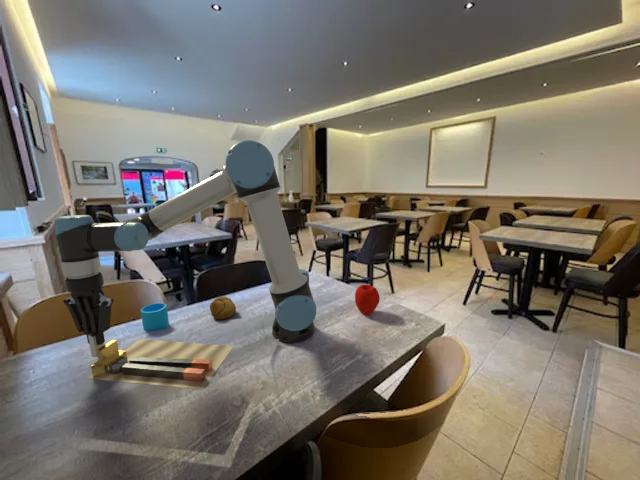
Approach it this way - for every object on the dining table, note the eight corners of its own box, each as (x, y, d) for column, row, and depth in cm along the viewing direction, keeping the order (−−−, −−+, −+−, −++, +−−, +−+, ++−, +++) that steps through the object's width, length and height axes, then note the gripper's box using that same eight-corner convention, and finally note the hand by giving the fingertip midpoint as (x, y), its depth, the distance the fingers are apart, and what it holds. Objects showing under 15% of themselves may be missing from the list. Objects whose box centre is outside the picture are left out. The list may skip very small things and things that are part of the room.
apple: (382, 311, 115) (383, 283, 113) (373, 320, 107) (374, 291, 104) (360, 305, 120) (361, 279, 118) (350, 314, 112) (351, 286, 110)
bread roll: (211, 309, 117) (209, 291, 115) (235, 306, 120) (233, 288, 118) (210, 323, 105) (208, 304, 103) (236, 319, 108) (235, 300, 107)
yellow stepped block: (127, 360, 80) (124, 338, 79) (106, 377, 74) (101, 353, 72) (115, 359, 81) (111, 337, 80) (92, 375, 74) (88, 352, 73)
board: (234, 350, 88) (234, 345, 88) (202, 394, 70) (202, 389, 69) (140, 343, 92) (140, 339, 92) (87, 383, 74) (86, 378, 73)
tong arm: (212, 367, 78) (211, 359, 77) (209, 371, 76) (208, 363, 75) (134, 364, 79) (133, 356, 78) (129, 368, 77) (128, 360, 77)
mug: (166, 331, 99) (164, 310, 98) (140, 335, 97) (137, 314, 95) (172, 316, 110) (170, 297, 109) (149, 320, 108) (146, 300, 106)
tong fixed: (210, 371, 76) (209, 363, 76) (201, 382, 72) (200, 374, 71) (118, 363, 79) (117, 355, 79) (105, 373, 75) (103, 365, 75)
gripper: (118, 270, 75) (130, 347, 80) (76, 268, 76) (90, 344, 81) (92, 280, 68) (107, 364, 72) (46, 278, 69) (64, 360, 74)
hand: (98, 354), depth 77 cm, fingers closed
